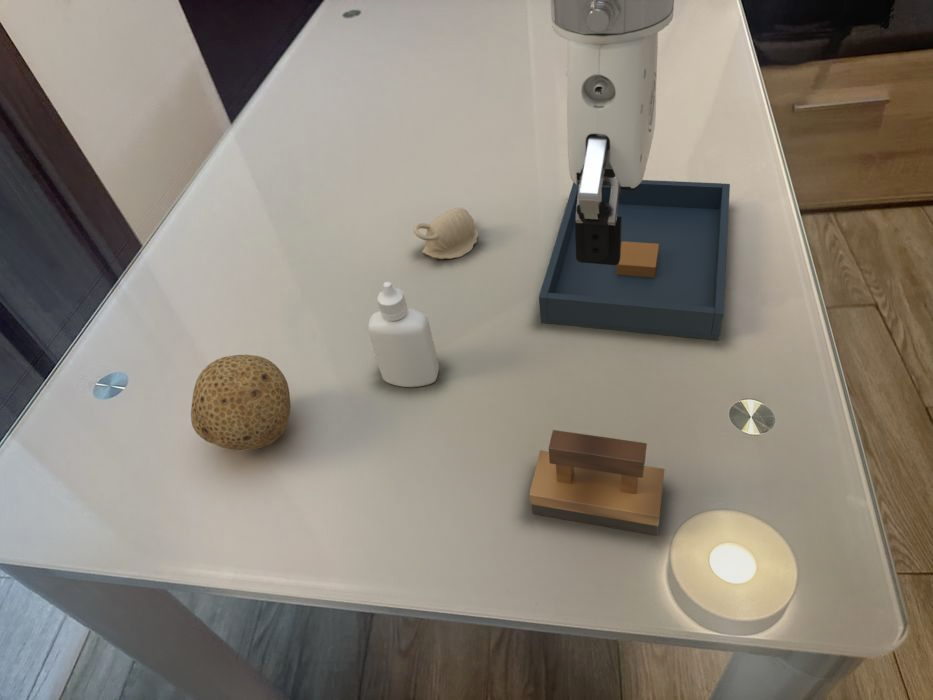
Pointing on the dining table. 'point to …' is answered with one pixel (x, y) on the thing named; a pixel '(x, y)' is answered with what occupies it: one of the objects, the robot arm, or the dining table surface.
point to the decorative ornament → (449, 234)
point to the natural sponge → (240, 403)
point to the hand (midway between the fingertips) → (608, 222)
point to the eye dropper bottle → (402, 341)
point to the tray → (677, 273)
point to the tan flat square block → (638, 259)
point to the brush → (597, 483)
